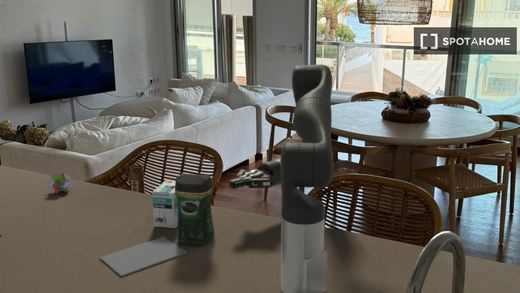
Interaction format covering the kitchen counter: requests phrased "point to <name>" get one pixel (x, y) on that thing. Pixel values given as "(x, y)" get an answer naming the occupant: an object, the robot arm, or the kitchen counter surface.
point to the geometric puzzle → (60, 183)
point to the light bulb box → (165, 205)
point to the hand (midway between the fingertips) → (230, 184)
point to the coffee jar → (194, 209)
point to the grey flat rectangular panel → (142, 256)
